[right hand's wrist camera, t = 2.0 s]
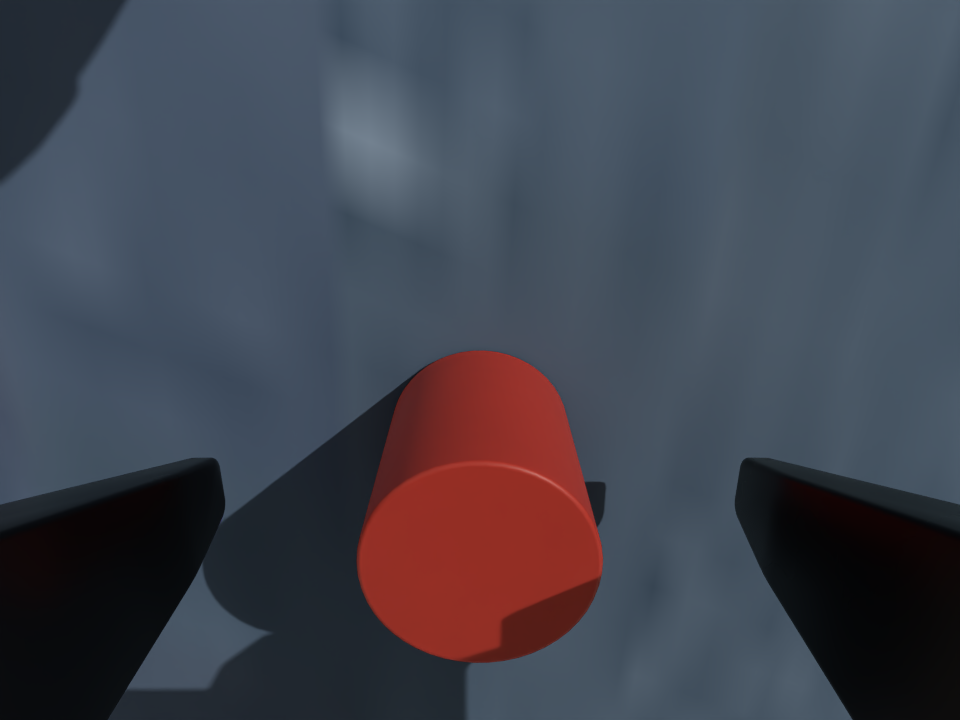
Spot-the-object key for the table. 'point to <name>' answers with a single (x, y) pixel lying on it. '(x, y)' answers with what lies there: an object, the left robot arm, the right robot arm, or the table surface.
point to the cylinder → (479, 514)
